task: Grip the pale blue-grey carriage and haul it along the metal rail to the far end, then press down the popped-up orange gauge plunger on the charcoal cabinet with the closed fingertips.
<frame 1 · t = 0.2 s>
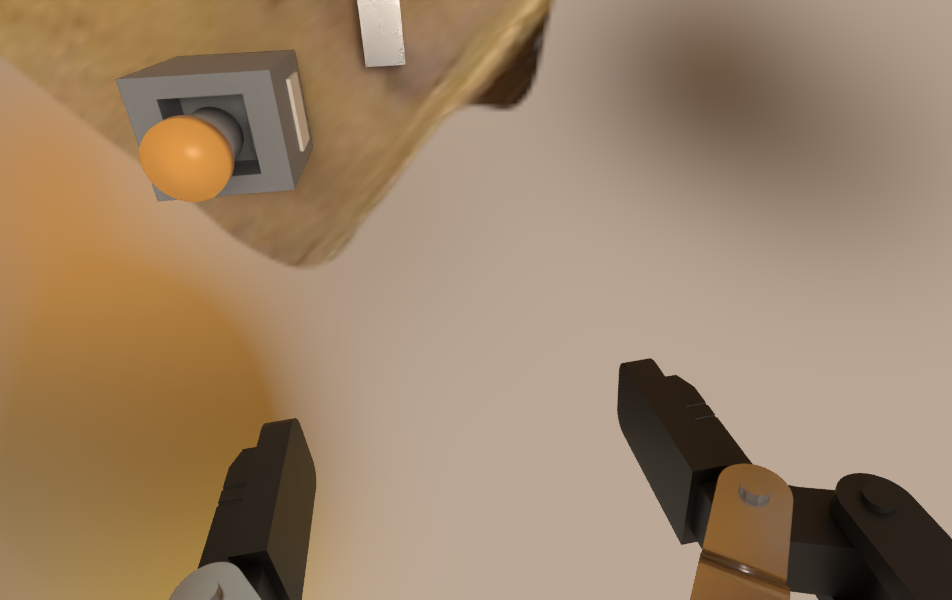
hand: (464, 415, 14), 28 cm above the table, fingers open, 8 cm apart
gauge plunger: (201, 147, 26), point 11 cm above the table, slide at 0.0 cm
gauge cabinet: (248, 104, 36), on the table
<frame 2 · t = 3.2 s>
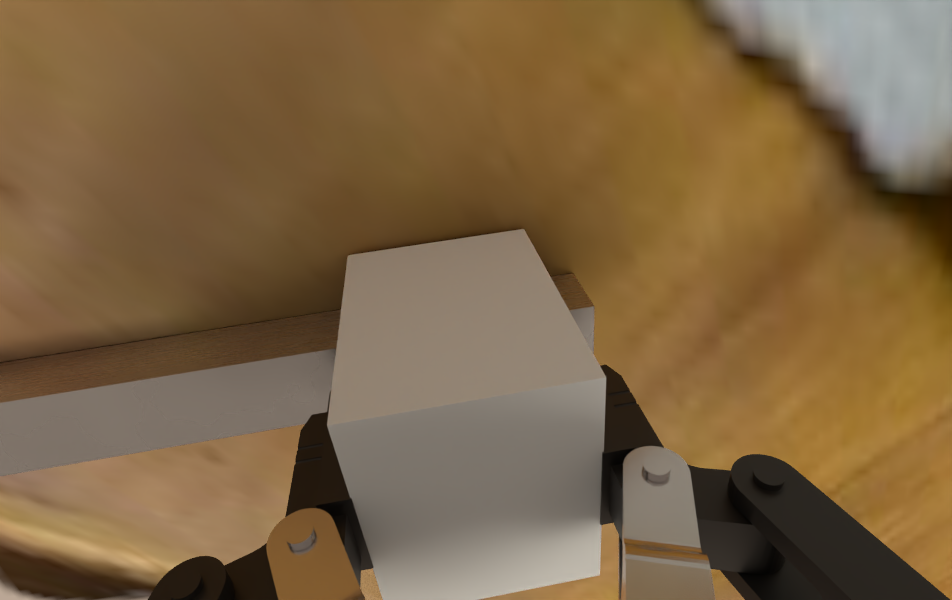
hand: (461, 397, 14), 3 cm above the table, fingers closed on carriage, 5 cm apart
rail: (287, 352, 17), on the table
carriage: (463, 402, 14), point 4 cm above the table, slide at 0.0 cm, touching gripper
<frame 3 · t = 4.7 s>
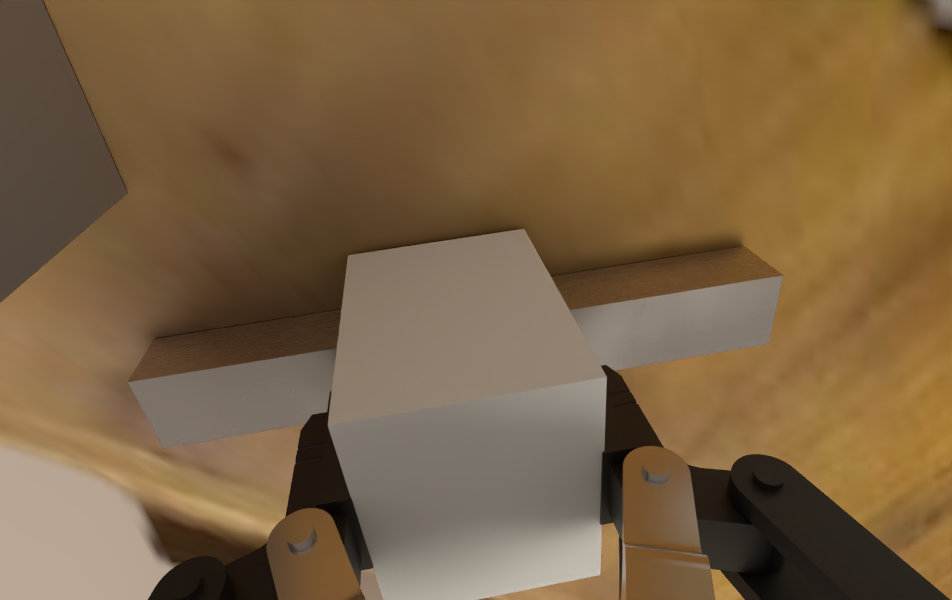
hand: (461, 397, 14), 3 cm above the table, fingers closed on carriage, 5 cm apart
rail: (465, 323, 17), on the table
carriage: (463, 402, 14), point 4 cm above the table, slide at 5.5 cm, touching gripper
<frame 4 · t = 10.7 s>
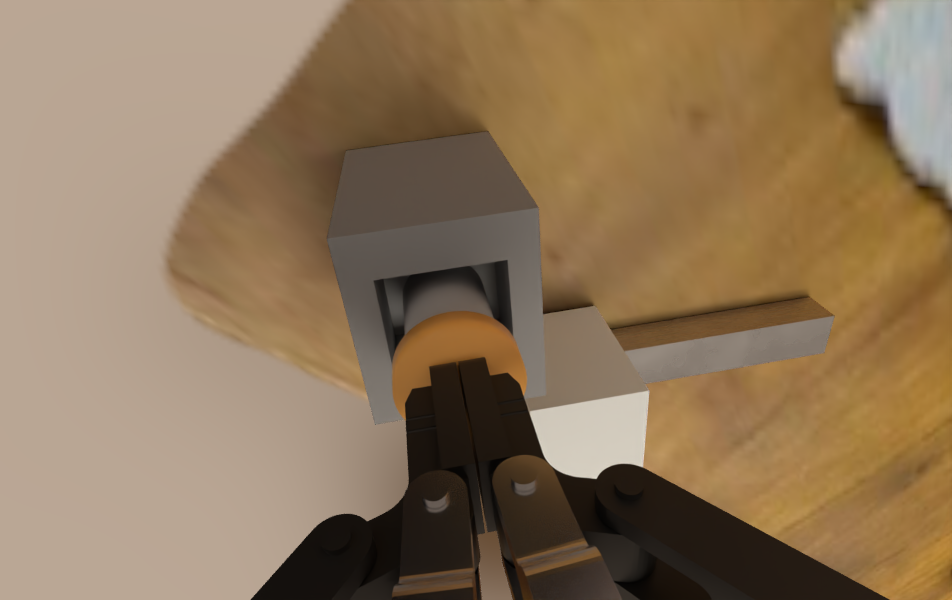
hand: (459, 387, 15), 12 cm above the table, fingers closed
gauge plunger: (451, 335, 17), point 10 cm above the table, slide at 1.3 cm, touching gripper
gauge cabinet: (429, 218, 25), on the table
rail: (650, 340, 30), on the table
carriage: (567, 401, 27), point 4 cm above the table, slide at 10.7 cm
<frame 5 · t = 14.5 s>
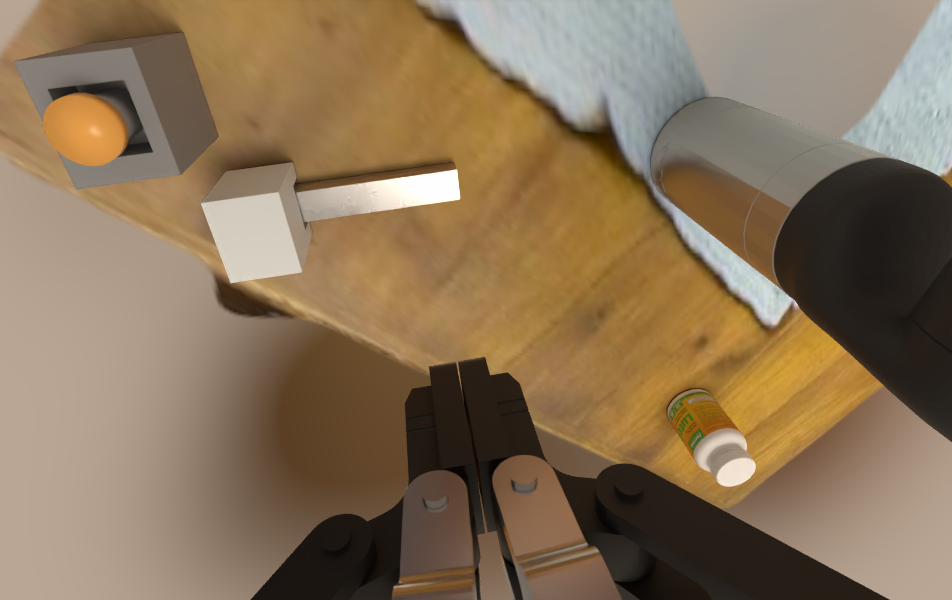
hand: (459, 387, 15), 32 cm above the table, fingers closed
gauge plunger: (103, 121, 31), point 9 cm above the table, slide at 1.9 cm
gauge cabinet: (157, 92, 39), on the table
rail: (344, 192, 44), on the table
carriage: (262, 220, 41), point 4 cm above the table, slide at 10.7 cm
supplement bottle: (688, 405, 62), on the table
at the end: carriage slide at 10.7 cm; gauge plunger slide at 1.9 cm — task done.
